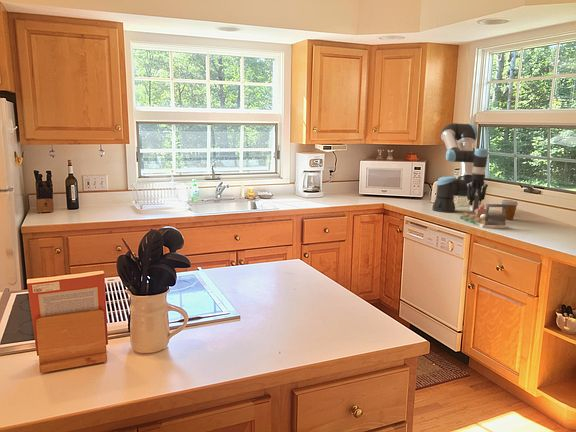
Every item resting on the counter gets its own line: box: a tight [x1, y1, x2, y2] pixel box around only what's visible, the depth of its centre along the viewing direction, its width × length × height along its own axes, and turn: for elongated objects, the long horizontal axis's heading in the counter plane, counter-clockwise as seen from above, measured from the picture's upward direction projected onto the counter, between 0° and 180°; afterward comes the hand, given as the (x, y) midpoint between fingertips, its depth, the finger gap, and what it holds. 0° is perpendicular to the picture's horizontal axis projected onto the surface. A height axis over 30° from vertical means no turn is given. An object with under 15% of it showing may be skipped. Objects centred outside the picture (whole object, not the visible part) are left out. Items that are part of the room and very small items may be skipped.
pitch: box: [459, 203, 508, 229], centre depth 291 cm, size 26×16×14 cm, turn 9°
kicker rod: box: [471, 194, 486, 218], centre depth 297 cm, size 11×6×13 cm, turn 9°
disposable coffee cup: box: [501, 199, 519, 221], centre depth 306 cm, size 10×10×12 cm
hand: (474, 210), depth 302 cm, fingers closed on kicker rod, 3 cm apart
